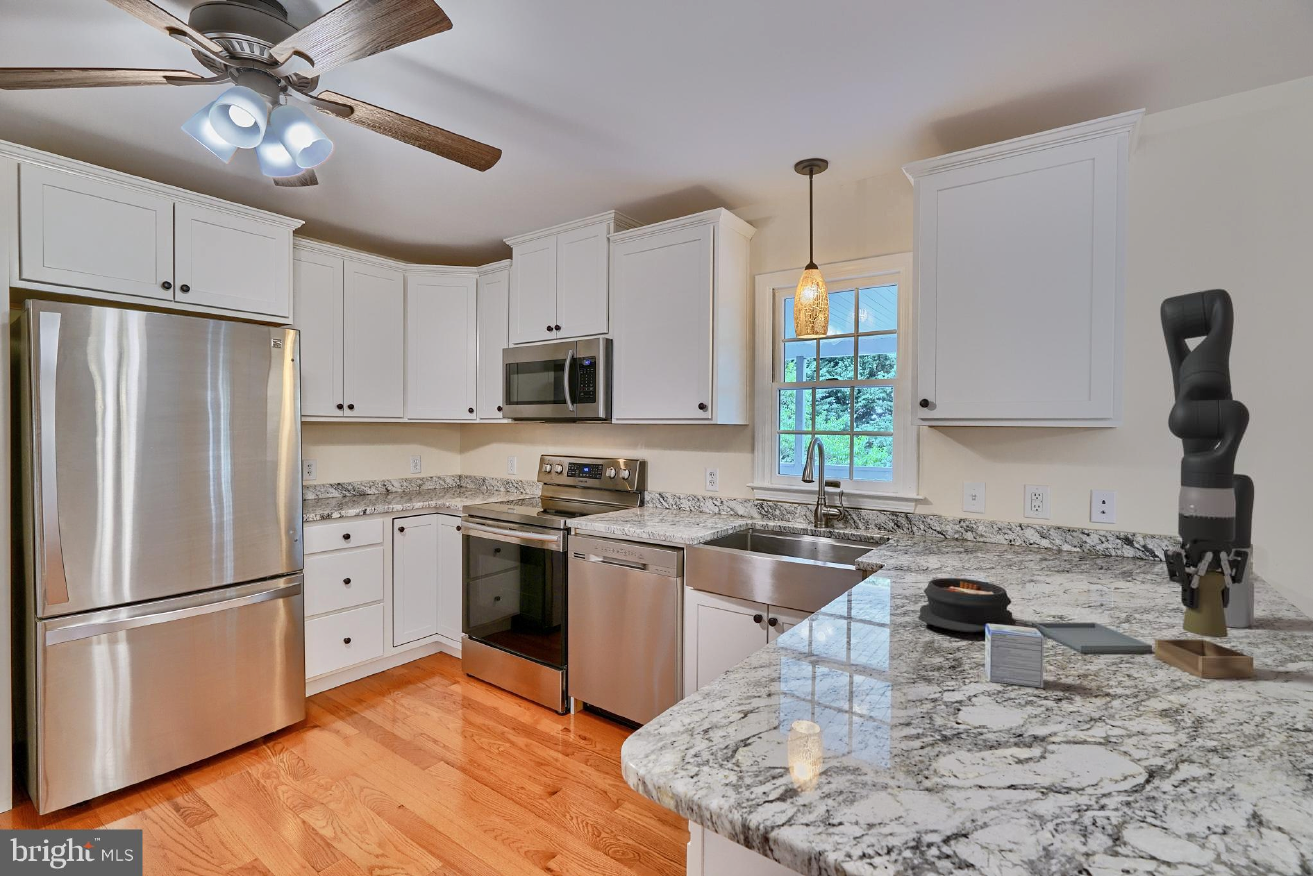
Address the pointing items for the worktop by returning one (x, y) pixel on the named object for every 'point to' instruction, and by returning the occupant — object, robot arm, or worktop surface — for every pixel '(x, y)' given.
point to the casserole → (965, 605)
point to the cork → (1207, 607)
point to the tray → (1091, 638)
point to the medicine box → (1014, 655)
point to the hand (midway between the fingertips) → (1204, 606)
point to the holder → (1204, 658)
